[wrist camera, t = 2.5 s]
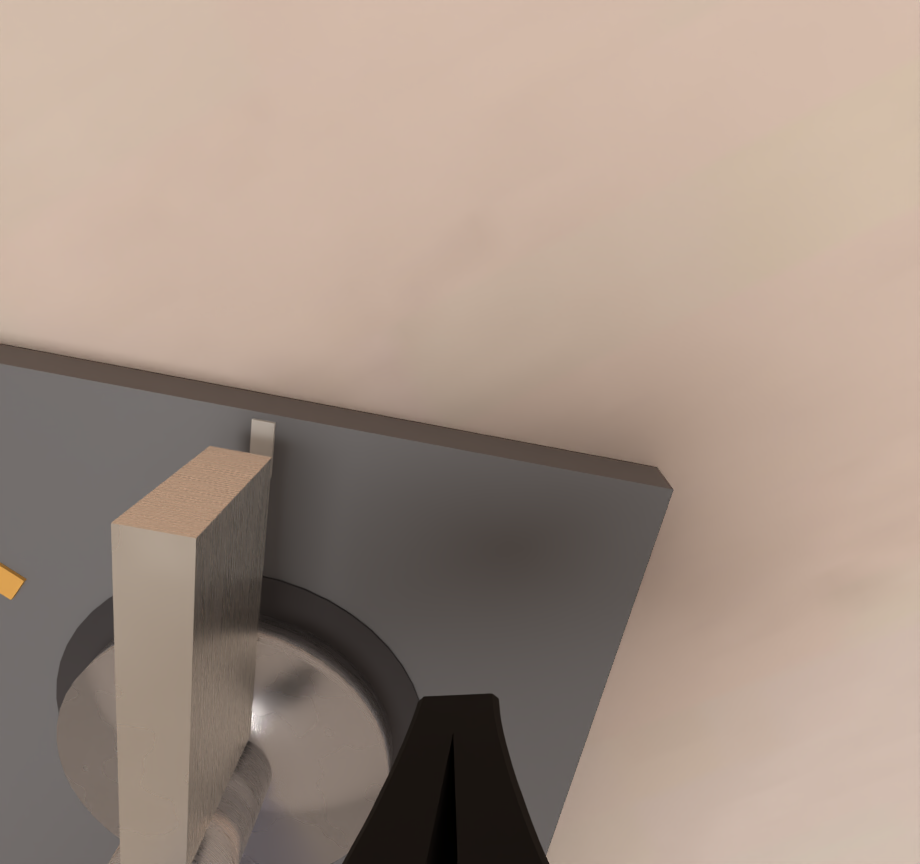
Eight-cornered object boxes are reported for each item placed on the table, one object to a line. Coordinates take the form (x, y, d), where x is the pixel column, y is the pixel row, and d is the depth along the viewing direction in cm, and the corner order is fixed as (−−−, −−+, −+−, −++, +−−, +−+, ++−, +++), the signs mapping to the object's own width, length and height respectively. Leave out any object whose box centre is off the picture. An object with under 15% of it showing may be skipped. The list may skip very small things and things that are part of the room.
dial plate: (500, 936, 24) (502, 985, 22) (-23, 852, 23) (-58, 895, 22) (656, 467, 16) (674, 491, 15) (-104, 324, 16) (-165, 334, 14)
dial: (371, 867, 20) (337, 1060, 15) (87, 820, 20) (-35, 1002, 15) (448, 471, 15) (433, 580, 10) (63, 399, 14) (-135, 478, 10)
